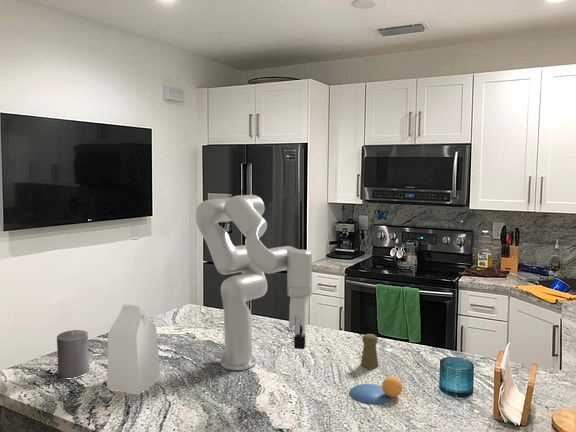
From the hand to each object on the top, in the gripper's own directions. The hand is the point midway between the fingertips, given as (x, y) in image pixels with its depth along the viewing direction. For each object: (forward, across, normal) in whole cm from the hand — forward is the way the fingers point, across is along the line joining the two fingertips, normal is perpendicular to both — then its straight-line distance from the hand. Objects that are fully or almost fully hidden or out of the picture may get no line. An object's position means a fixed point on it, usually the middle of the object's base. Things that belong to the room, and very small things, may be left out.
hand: (299, 347), depth 153 cm
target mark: (+13, 0, +22) cm, 26 cm away
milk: (+14, +4, -53) cm, 55 cm away
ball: (+10, +1, +28) cm, 30 cm away
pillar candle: (+14, -1, -77) cm, 78 cm away
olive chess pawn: (+14, -22, +22) cm, 34 cm away
